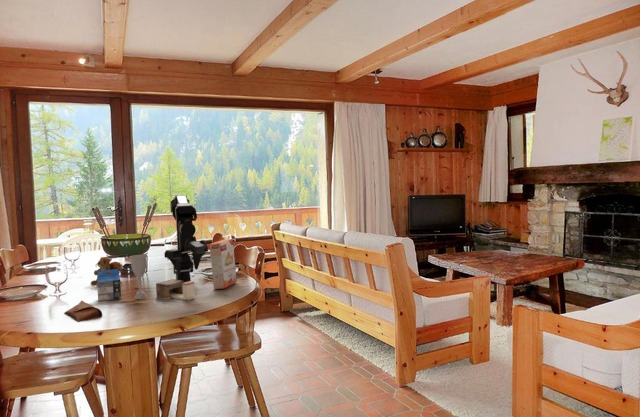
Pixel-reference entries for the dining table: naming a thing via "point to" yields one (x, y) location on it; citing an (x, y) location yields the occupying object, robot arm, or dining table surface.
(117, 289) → the label tape cartridge
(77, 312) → the sunglasses case
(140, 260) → the chalice
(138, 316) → the dining table surface
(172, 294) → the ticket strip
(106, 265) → the stuffed squirrel
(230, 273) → the cracker box
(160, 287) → the box
